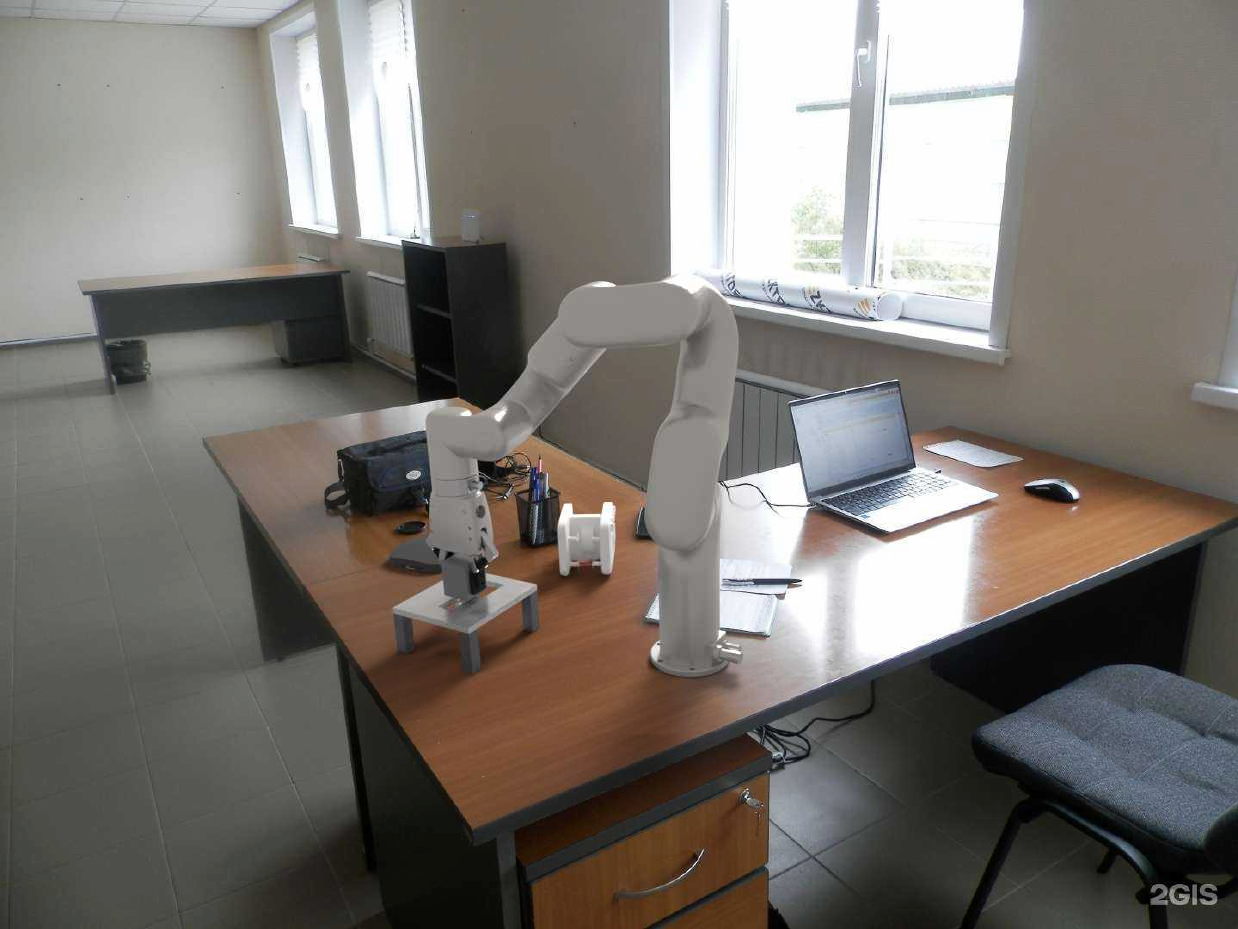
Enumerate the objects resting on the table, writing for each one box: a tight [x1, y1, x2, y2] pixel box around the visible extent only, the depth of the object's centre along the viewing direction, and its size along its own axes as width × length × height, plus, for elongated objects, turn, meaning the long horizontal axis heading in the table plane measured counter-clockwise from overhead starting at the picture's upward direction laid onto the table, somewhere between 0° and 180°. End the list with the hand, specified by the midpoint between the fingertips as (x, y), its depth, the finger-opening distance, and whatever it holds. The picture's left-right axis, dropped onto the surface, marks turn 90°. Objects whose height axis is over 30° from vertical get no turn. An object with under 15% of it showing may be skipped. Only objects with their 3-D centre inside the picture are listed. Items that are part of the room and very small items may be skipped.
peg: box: [441, 553, 488, 609], centre depth 149 cm, size 5×5×10 cm
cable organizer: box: [557, 501, 617, 577], centre depth 179 cm, size 15×11×12 cm
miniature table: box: [392, 572, 541, 675], centre depth 151 cm, size 16×18×8 cm
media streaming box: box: [389, 534, 457, 574], centre depth 187 cm, size 15×15×3 cm
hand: (465, 587), depth 149 cm, fingers closed on peg, 5 cm apart
